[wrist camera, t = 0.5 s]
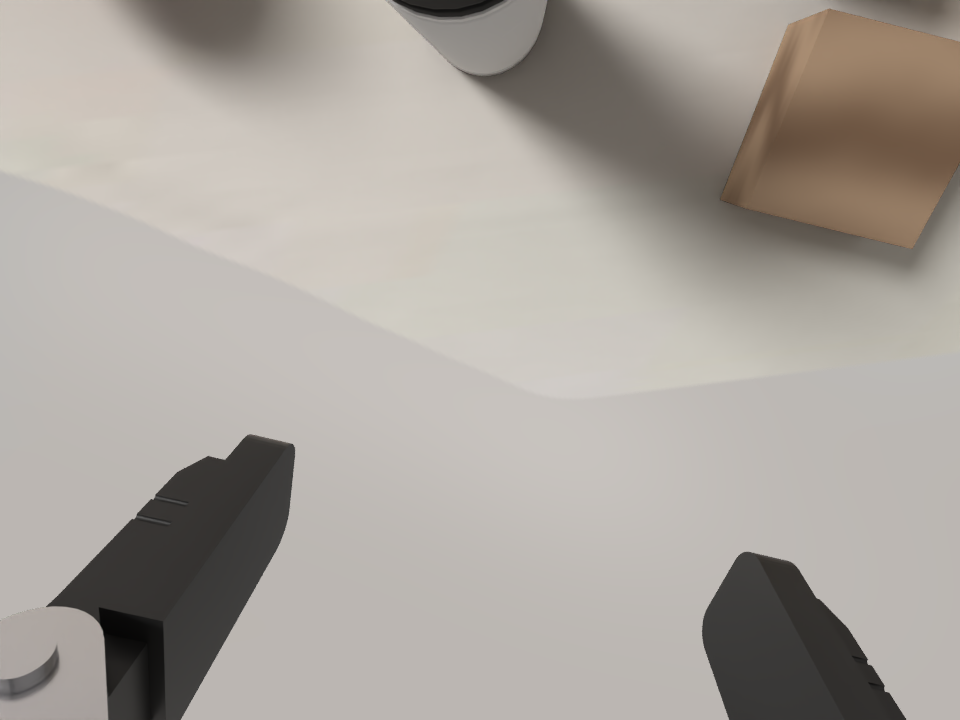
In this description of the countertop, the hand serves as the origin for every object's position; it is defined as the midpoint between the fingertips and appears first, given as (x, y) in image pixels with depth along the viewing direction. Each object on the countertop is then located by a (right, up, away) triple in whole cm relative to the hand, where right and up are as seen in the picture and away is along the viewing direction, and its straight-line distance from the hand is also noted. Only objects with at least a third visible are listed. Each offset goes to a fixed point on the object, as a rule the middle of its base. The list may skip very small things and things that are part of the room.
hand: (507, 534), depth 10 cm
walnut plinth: (+19, +16, +20) cm, 32 cm away
